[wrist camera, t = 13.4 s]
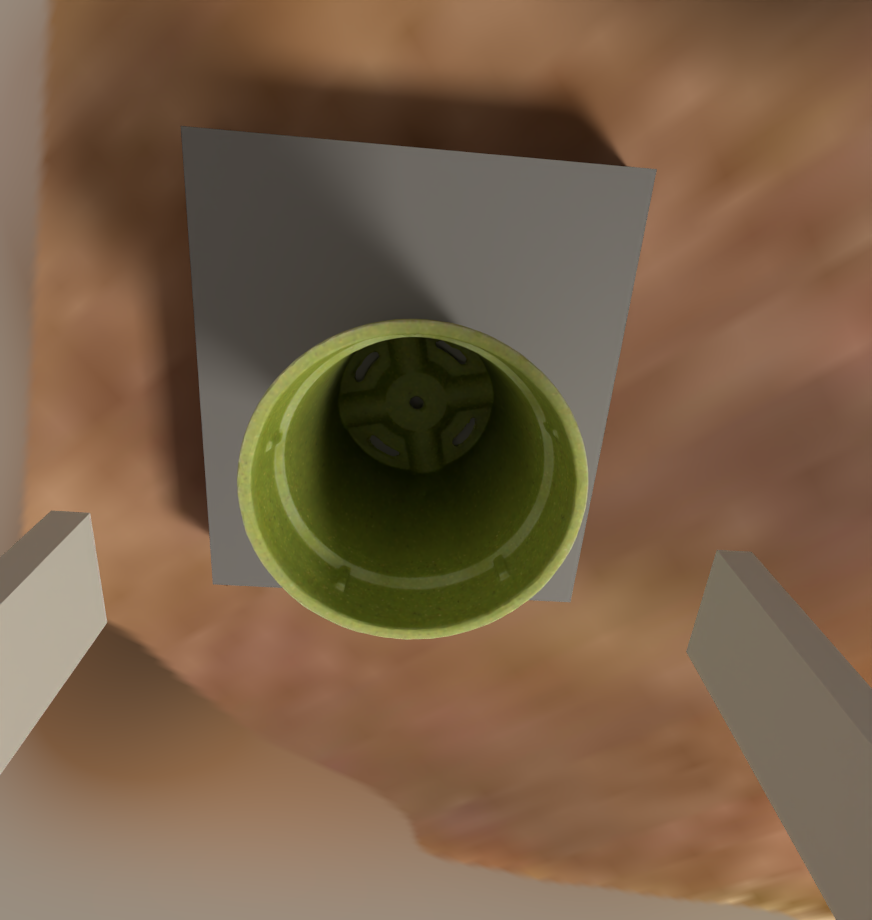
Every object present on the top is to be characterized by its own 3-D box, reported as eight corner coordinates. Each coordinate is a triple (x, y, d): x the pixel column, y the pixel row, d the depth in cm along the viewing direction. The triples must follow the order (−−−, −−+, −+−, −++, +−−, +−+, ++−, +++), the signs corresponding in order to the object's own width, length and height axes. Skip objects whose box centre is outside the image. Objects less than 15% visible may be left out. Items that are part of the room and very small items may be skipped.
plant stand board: (208, 132, 24) (180, 126, 21) (629, 170, 25) (656, 169, 22) (231, 548, 31) (212, 584, 28) (557, 565, 32) (570, 602, 29)
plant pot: (250, 431, 25) (175, 546, 17) (374, 219, 22) (351, 242, 14) (446, 540, 28) (459, 686, 20) (582, 362, 25) (662, 449, 17)
